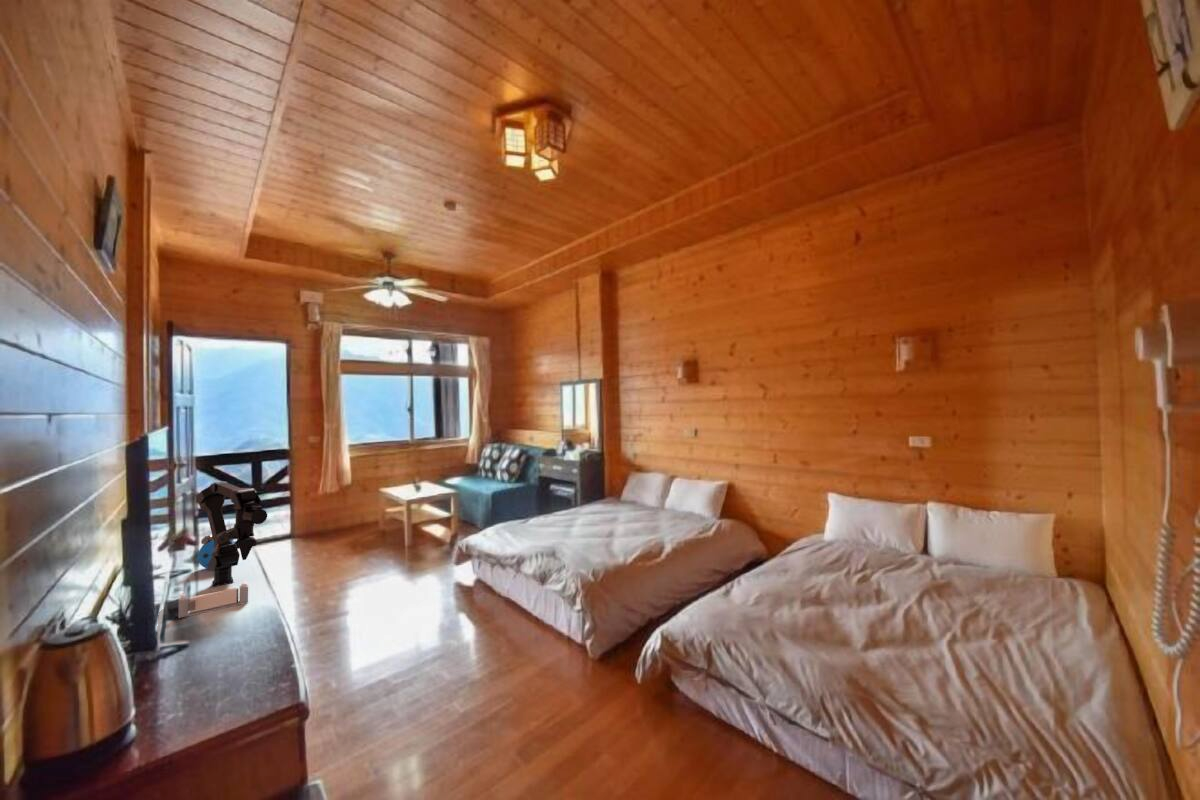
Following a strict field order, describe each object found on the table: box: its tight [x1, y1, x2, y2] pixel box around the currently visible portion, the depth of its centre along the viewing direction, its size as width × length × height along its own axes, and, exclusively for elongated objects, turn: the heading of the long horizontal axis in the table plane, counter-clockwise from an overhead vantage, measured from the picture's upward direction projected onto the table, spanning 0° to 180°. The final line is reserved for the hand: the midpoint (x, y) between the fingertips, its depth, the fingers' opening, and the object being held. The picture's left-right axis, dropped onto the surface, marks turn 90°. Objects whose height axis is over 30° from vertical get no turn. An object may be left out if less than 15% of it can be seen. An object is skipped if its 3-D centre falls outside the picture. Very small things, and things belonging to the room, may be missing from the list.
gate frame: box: [178, 582, 249, 619], centre depth 170 cm, size 3×19×7 cm, turn 131°
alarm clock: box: [197, 534, 235, 570], centre depth 209 cm, size 13×6×15 cm, turn 122°
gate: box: [189, 587, 239, 613], centre depth 170 cm, size 2×14×5 cm, turn 132°
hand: (244, 559), depth 187 cm, fingers closed
